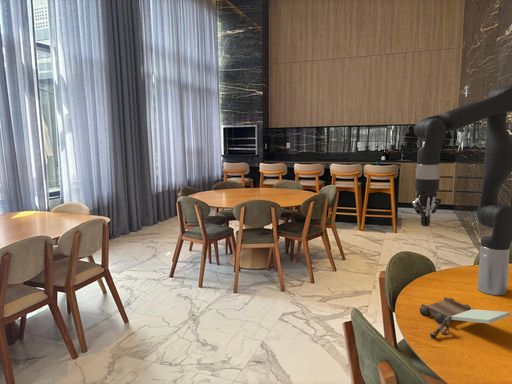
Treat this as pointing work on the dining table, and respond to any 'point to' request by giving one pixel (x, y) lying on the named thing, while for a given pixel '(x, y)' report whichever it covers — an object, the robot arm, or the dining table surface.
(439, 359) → the dining table surface
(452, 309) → the flatbed
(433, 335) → the wooden post with brackets
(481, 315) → the panel
